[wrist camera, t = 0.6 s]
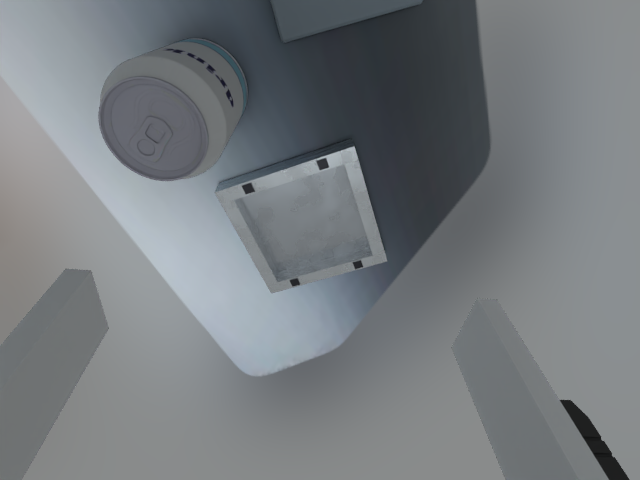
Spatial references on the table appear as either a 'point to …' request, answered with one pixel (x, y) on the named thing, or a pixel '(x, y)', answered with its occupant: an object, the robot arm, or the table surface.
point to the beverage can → (173, 109)
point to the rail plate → (305, 217)
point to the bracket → (328, 14)
